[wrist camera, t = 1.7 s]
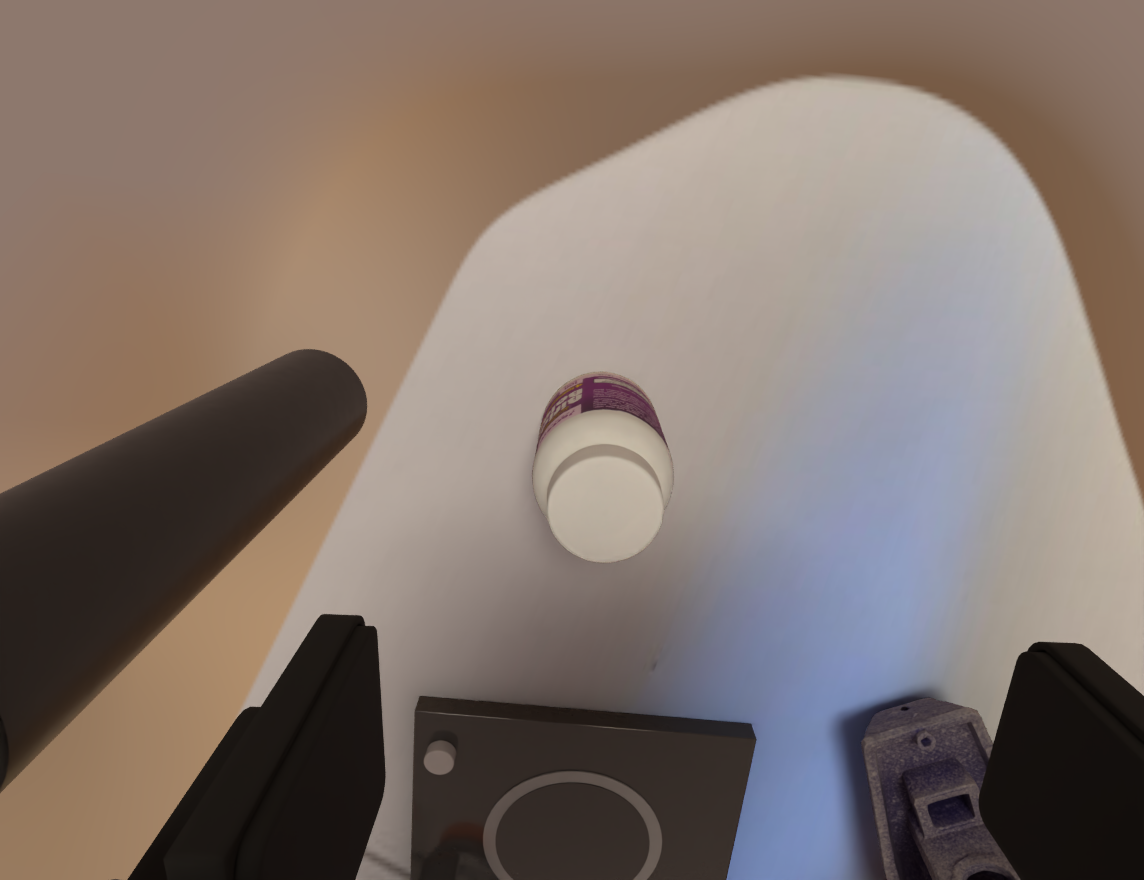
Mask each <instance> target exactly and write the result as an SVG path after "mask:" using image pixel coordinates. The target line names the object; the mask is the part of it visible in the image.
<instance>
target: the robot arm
mask: <svg viewBox="0 0 1144 880" xmlns="http://www.w3.org/2000/svg"><path fill="white" fill-rule="evenodd" d="M384 787H385V756H384V739H383V723H382V706H381V689H380V672H379V655H378V638H377V630H376V628H375V627H374V626H365V622H364V619H363V617H362V616H359V615H333V614H323V615H321V616H320V617H319V618H318V619H317V621H316V622H315V624H314V625H313V627H312V628H311V630H310V631H309V633H308V634H307V636H306V638H305V639H304V641H303V642H302V644H301V645H300V647H299V648H298V650H297V652H296V653H295V655H294V656H293V658H292V659H291V661H290V662H289V664H288V666H287V667H286V669H285V670H284V672H283V673H282V675H281V676H280V678H279V680H278V681H277V683H276V684H275V686H274V687H273V689H272V690H271V692H270V694H269V695H268V697H267V698H266V700H265V701H264V703H263V704H262V706H261V707H249V708H247V709H245V710H243V712H242V713H241V714H240V715H239V716H238V717H237V719H236V720H235V722H234V723H233V724H232V726H231V727H230V729H229V730H228V732H227V733H226V735H225V736H224V738H223V739H222V741H221V742H220V744H219V745H218V747H217V748H216V750H215V751H214V753H213V754H212V756H211V757H210V759H209V760H208V761H207V763H206V764H205V766H204V767H203V769H202V770H201V772H200V773H199V775H198V776H197V778H196V779H195V781H194V782H193V784H192V785H191V787H190V788H189V790H188V791H187V792H186V794H185V795H184V797H183V798H182V800H181V801H180V803H179V805H178V806H177V807H176V809H175V810H174V812H173V813H172V815H171V816H170V818H169V819H168V821H167V822H166V823H165V825H164V826H163V828H162V829H161V831H160V832H159V834H158V835H157V837H156V838H155V840H154V841H153V843H152V845H151V846H150V847H149V849H148V850H147V852H146V853H145V855H144V856H143V857H142V859H141V860H140V862H139V863H138V865H137V866H136V868H135V869H134V871H133V872H132V874H131V875H130V877H129V878H128V880H355V879H356V876H357V873H358V870H359V867H360V864H361V861H362V858H363V855H364V852H365V849H366V846H367V843H368V840H369V837H370V834H371V831H372V828H373V825H374V822H375V820H376V817H377V814H378V811H379V808H380V805H381V801H382V798H383V793H384ZM978 803H979V811H980V815H981V818H982V821H983V822H984V824H985V826H986V828H987V829H988V831H989V832H990V834H991V835H992V837H993V838H994V840H995V841H996V843H997V844H998V846H999V848H1000V849H1001V851H1002V852H1003V854H1004V855H1005V857H1006V858H1007V860H1008V861H1009V863H1010V864H1011V866H1012V867H1013V869H1014V870H1015V872H1016V873H1017V875H1018V876H1019V878H1020V879H1021V880H1144V696H1143V695H1142V694H1141V693H1140V692H1139V691H1137V690H1136V689H1135V688H1134V687H1133V686H1132V685H1130V684H1129V683H1128V682H1127V681H1126V680H1125V679H1123V678H1122V677H1121V676H1120V675H1119V674H1118V673H1117V672H1115V671H1114V670H1113V669H1112V668H1111V667H1110V666H1108V665H1107V664H1106V663H1105V662H1104V661H1103V660H1101V659H1100V658H1099V657H1098V656H1097V655H1096V654H1094V653H1093V652H1092V651H1091V650H1090V649H1089V648H1087V647H1085V646H1084V645H1082V644H1077V643H1056V642H1037V643H1034V644H1033V645H1032V646H1031V647H1029V649H1028V651H1027V652H1023V653H1022V654H1020V655H1019V657H1018V659H1017V662H1016V665H1015V669H1014V672H1013V676H1012V679H1011V683H1010V687H1009V690H1008V694H1007V697H1006V701H1005V704H1004V708H1003V711H1002V715H1001V719H1000V722H999V726H998V729H997V733H996V736H995V740H994V743H993V747H992V751H991V754H990V758H989V761H988V765H987V768H986V772H985V775H984V779H983V783H982V786H981V790H980V793H979V799H978ZM113 880H118V879H113Z"/></svg>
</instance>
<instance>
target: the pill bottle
mask: <svg viewBox="0 0 1144 880" xmlns="http://www.w3.org/2000/svg"><path fill="white" fill-rule="evenodd" d="M532 481H533V489H534V494H535V497H536V500H537V503H538V505H539V507H540V509H541V511H542V512H543V514H544V515H545V517H546V518H547V519H548V522H549V525H550V528H551V530H552V532H553V534H554V536H555V537H556V539H557V540H558V541H559V543H560V544H561V545H562V546H563V547H564V548H565V549H567V550H568V551H569V552H571V553H572V554H574V555H575V556H578V557H580V558H582V559H584V560H588V561H592V562H598V563H610V562H617V561H622V560H625V559H628V558H630V557H632V556H634V555H636V554H638V553H639V552H641V551H642V550H643V549H645V548H646V547H647V546H648V545H649V544H650V543H651V542H652V540H653V539H654V537H655V536H656V535H657V533H658V531H659V529H660V527H661V523H662V519H663V514H664V510H665V508H666V506H667V504H668V502H669V499H670V497H671V493H672V488H673V481H674V471H673V462H672V458H671V455H670V452H669V449H668V446H667V443H666V441H665V437H664V435H663V432H662V429H661V426H660V423H659V420H658V417H657V415H656V412H655V410H654V407H653V405H652V403H651V401H650V399H649V398H648V396H647V395H646V394H645V392H644V391H643V390H642V389H641V388H640V387H639V386H638V385H637V384H635V383H634V382H633V381H631V380H629V379H627V378H625V377H623V376H620V375H617V374H613V373H608V372H593V373H587V374H583V375H580V376H578V377H576V378H574V379H572V380H570V381H569V382H567V383H566V384H564V385H563V386H562V387H561V388H559V389H558V391H557V392H556V393H555V394H554V395H553V397H552V398H551V400H550V401H549V403H548V405H547V407H546V409H545V412H544V415H543V419H542V423H541V428H540V432H539V438H538V444H537V449H536V454H535V459H534V464H533V470H532Z"/></svg>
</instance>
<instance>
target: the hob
mask: <svg viewBox="0 0 1144 880" xmlns="http://www.w3.org/2000/svg"><path fill="white" fill-rule="evenodd" d="M755 744H756V737H755V734H754V731H753V728H752V725H751V724H748V723H736V722H724V721H712V720H700V719H688V718H676V717H664V716H652V715H640V714H628V713H616V712H604V711H592V710H580V709H568V708H556V707H544V706H532V705H520V704H508V703H496V702H484V701H472V700H460V699H448V698H436V697H424V696H420V697H419V700H418V703H417V706H416V709H415V718H414V759H413V800H412V841H411V880H726V878H727V873H728V869H729V864H730V860H731V855H732V850H733V846H734V841H735V836H736V832H737V827H738V822H739V818H740V813H741V809H742V804H743V799H744V795H745V790H746V785H747V781H748V776H749V771H750V767H751V762H752V757H753V753H754V748H755Z"/></svg>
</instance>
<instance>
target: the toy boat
mask: <svg viewBox="0 0 1144 880" xmlns="http://www.w3.org/2000/svg"><path fill="white" fill-rule="evenodd" d="M861 747H862V753H863V758H864V763H865V769H866V774H867V781H868V785H869V790H870V797H871V801H872V807H873V813H874V819H875V826H876V831H877V836H878V842H879V848H880V854H881V859H882V864H883V868H884V872H885V875H886V878H887V880H1021V879H1020V878H1019V876H1018V875H1017V873H1016V872H1015V870H1014V869H1013V867H1012V866H1011V864H1010V863H1009V861H1008V860H1007V858H1006V857H1005V855H1004V854H1003V852H1002V851H1001V849H1000V848H999V846H998V844H997V843H996V841H995V840H994V838H993V837H992V835H991V834H990V832H989V831H988V829H987V828H986V826H985V824H984V822H983V821H982V818H981V815H980V811H979V803H978V799H979V793H980V790H981V786H982V783H983V779H984V775H985V772H986V768H987V765H988V761H989V758H990V754H991V751H992V747H993V743H992V740H991V738H990V736H989V734H988V732H987V730H986V728H985V725H984V723H983V720H982V718H981V716H980V715H979V713H978V711H977V710H974V709H971V708H969V707H968V708H966V707H963V706H959V705H956V704H953V703H948V702H943V701H937V700H935V699H932V698H924V699H920V700H917V701H913V702H910V703H907V704H903V705H900V706H897V707H893V708H890V709H886V710H883V711H880V712H877V713H876V714H875V715H874V716H873V717H872V720H871V722H870V723H869V725H868V727H867V729H866V732H865V736H864V739H863V740H862V742H861Z"/></svg>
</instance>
